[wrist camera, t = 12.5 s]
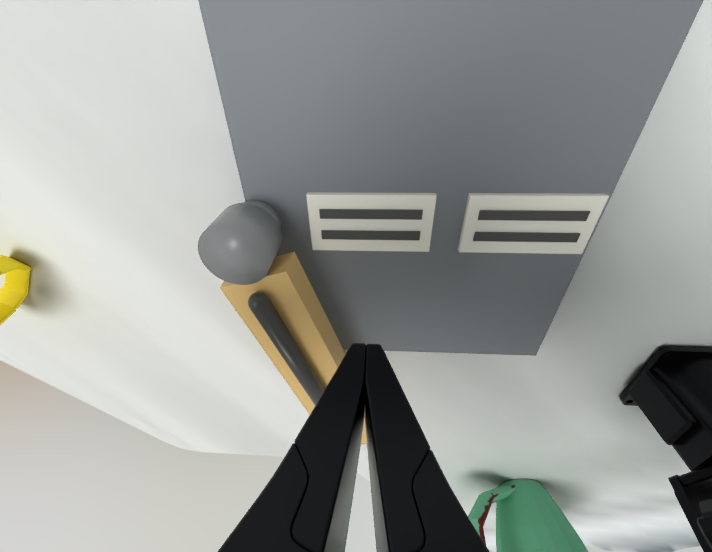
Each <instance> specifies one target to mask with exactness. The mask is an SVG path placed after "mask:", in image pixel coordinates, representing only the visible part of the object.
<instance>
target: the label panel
mask: <svg viewBox="0 0 712 552" xmlns="http://www.w3.org/2000/svg"><path fill="white" fill-rule="evenodd" d="M198 1H199V5H200V9H201V13H202V18H203V22H204V26H205V30H206V35H207V39H208V43H209V48H210V52H211V56H212V60H213V65H214V69H215V73H216V77H217V82H218V86H219V90H220V94H221V99H222V103H223V107H224V111H225V116H226V120H227V124H228V129H229V133H230V137H231V141H232V146H233V150H234V154H235V158H236V163H237V167H238V171H239V175H240V180H241V184H242V188H243V193H244V197H245V201H246V202H244V203H248V204H253V205H256V206H259V207H261V208H263V209H264V210H266V211H267V212H269V213H270V214H271V215H272V216H273V217H274V218H275V220H276V221H277V222H278V224H279V226H280V228H281V232H282V244H281V247H280V249H279V251H278V253H277V255H276V256H279V255H283V254H287V253H291V252H295V254H296V256H297V258H298V260H299V262H300V264H301V266H302V268H303V270H304V272H305V274H306V276H307V278H308V280H309V282H310V284H311V286H312V288H313V290H314V292H315V294H316V296H317V298H318V300H319V302H320V304H321V306H322V308H323V310H324V312H325V314H326V316H327V318H328V320H329V322H330V324H331V326H332V328H333V330H334V332H335V334H336V336H337V338H338V340H339V342H340V344H341V346H342V348H343V349H349V348H350V346H351V345H352V344H353V343H365V344H366V345H367V344H369V343H372V344H380V345H381V346H382V348H383V350H387V351H417V352H447V353H477V354H507V355H536V354H537V352H538V350H539V347H540V345H541V343H542V341H543V339H544V337H545V335H546V333H547V331H548V328H549V326H550V324H551V322H552V320H553V318H554V316H555V314H556V311H557V309H558V307H559V305H560V303H561V301H562V299H563V297H564V295H565V292H566V290H567V288H568V286H569V284H570V282H571V280H572V278H573V275H574V273H575V271H576V269H577V267H578V265H579V263H580V261H581V259H582V256H583V254H584V252H585V250H586V248H587V246H588V244H589V242H590V239H591V237H592V235H593V233H594V231H595V229H596V227H597V225H598V222H599V220H600V218H601V216H602V214H603V212H604V210H605V208H606V206H607V203H608V201H609V199H610V197H611V195H612V193H613V191H614V189H615V186H616V184H617V182H618V180H619V178H620V176H621V174H622V172H623V170H624V167H625V165H626V163H627V161H628V159H629V157H630V155H631V153H632V150H633V148H634V146H635V144H636V142H637V140H638V138H639V136H640V134H641V131H642V129H643V127H644V125H645V123H646V121H647V119H648V117H649V114H650V112H651V110H652V108H653V106H654V104H655V102H656V100H657V98H658V95H659V93H660V91H661V89H662V87H663V85H664V83H665V81H666V78H667V76H668V74H669V72H670V70H671V68H672V66H673V64H674V61H675V59H676V57H677V55H678V53H679V51H680V49H681V47H682V45H683V42H684V40H685V38H686V36H687V34H688V32H689V30H690V28H691V25H692V23H693V21H694V19H695V17H696V15H697V13H698V11H699V9H700V6H701V4H702V2H703V0H198Z"/></svg>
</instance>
